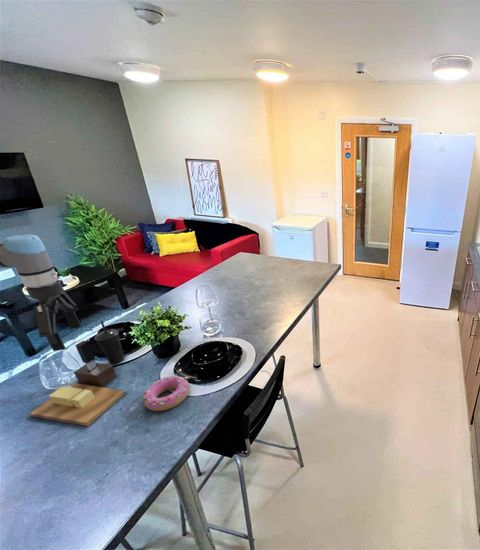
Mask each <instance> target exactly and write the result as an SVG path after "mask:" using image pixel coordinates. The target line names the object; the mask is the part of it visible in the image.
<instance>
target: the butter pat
mask: <svg viewBox="0 0 480 550" xmlns="http://www.w3.org/2000/svg"><path fill="white" fill-rule="evenodd" d="M94 398H95V397H94V395H93V393H92V391H91V390H84V391H82V392H81V393H80V394H78V395H77V396H76V397H74V398H73V399H72V401H73V403H74V405H75V407H78V408H83V407H84V406H85V405H86V404H88V403H89V402H90V401H91V400H93V399H94Z"/></svg>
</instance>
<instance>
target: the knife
mask: <svg viewBox="0 0 480 550" xmlns="http://www.w3.org/2000/svg"><path fill="white" fill-rule="evenodd" d="M74 346H75V348H76V350H77V352H78V355H79V357H80V359H81V361H82V363H83V364H84V365H85V364H86V366H87V369H88V371H89V372H90V371H92V370H93V369H95V368H96V367H98V366H97V364H96V363H97V361H96V360H95V359H96V356H95V354H94V351H93V349H92V347H91V345H90V342H89V341H87V340H82V341H80V342H78V343H76V344H75V345H74Z"/></svg>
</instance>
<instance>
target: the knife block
mask: <svg viewBox="0 0 480 550" xmlns="http://www.w3.org/2000/svg"><path fill="white" fill-rule="evenodd" d="M96 364H97V366H98V367H96V368H95V369H93V370H92V371H90V372H89V371H88V369H87V366H86V364H85V363H84V365H82V366H80V367H79V368H78V369H76V370H74V371H73V374H74V376H75V378H76V380H77V382H78V384H84V385H90V386H97V387H103V388H104V387H105V386H106V385H107V384H109V383H110V382H111V381H113V380H114V379H115V378H117V374H116V372H115V370H114V367H113V364H110V363H109V364H108V363H103V362H96Z"/></svg>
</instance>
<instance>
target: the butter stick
mask: <svg viewBox="0 0 480 550" xmlns="http://www.w3.org/2000/svg"><path fill="white" fill-rule="evenodd" d="M82 391H83V390H82V389H78V388H72V387H68V386H64V385H62V386H61V387H59V388H58V389H56V390H55V391H53V392H52V393H50V394H49V395H48V398H49V399H51V401H52V403H54V404H60V405H66V406H74V403H73V401H72V399H73V398H74V397H76V396H77V395H78V394H80V393H81V392H82Z"/></svg>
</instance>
